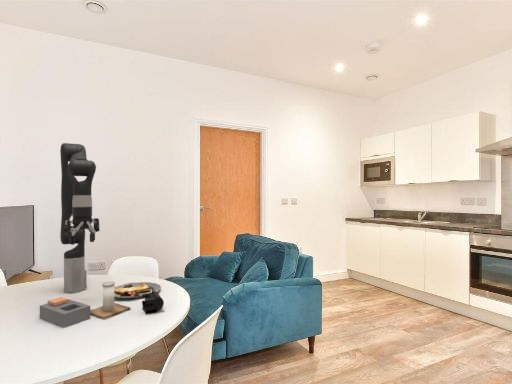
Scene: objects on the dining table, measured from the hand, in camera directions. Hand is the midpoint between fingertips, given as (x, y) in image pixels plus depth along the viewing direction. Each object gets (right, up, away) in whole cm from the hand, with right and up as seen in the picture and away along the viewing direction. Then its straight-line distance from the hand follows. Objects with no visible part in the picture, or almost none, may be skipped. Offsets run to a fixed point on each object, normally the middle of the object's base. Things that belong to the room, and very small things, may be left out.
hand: (82, 243), depth 135 cm
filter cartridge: (+14, -27, -5) cm, 31 cm away
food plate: (+15, -29, +20) cm, 38 cm away
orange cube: (-5, -26, -9) cm, 28 cm away
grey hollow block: (-1, -28, -11) cm, 30 cm away
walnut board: (+14, -28, -5) cm, 32 cm away
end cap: (+31, -28, -2) cm, 42 cm away
